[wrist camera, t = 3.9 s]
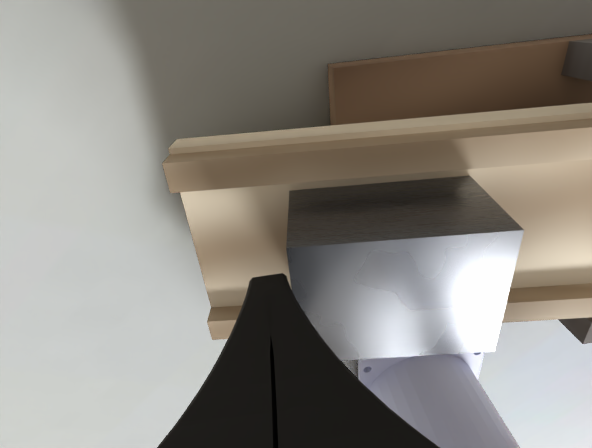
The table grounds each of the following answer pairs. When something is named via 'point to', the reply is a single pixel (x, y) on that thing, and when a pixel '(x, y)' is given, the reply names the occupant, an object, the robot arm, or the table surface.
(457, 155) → the balance beam
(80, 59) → the table surface
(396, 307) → the block
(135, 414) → the table surface
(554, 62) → the beam stand
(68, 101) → the table surface
